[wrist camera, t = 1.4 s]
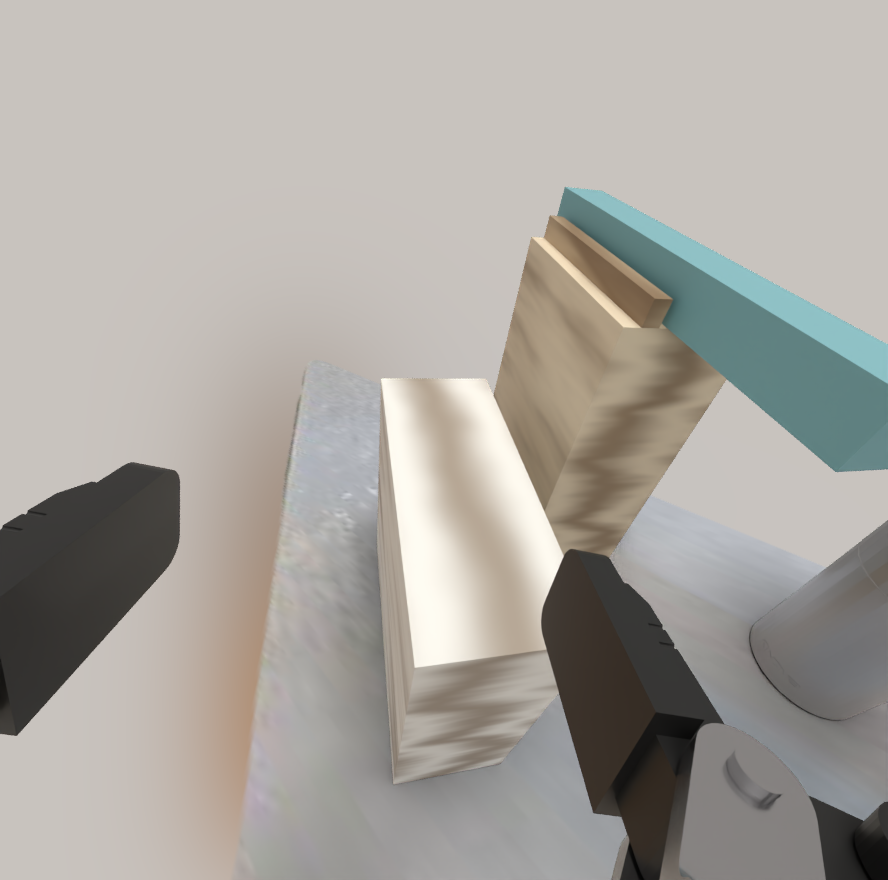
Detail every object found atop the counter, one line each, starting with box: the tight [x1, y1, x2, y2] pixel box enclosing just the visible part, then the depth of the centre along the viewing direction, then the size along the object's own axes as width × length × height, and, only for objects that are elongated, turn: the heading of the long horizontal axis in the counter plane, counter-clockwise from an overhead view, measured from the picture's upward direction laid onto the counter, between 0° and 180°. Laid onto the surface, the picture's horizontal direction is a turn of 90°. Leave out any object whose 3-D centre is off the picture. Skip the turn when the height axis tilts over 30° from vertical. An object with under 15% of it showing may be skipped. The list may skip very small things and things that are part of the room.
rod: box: [557, 187, 888, 472], centre depth 23 cm, size 3×26×3 cm, turn 10°
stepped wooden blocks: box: [377, 216, 726, 785], centre depth 31 cm, size 19×25×32 cm
